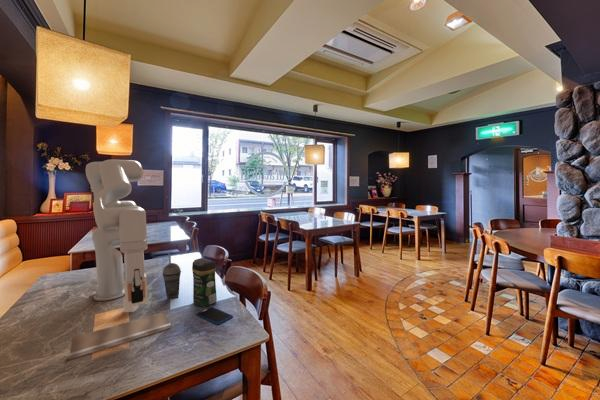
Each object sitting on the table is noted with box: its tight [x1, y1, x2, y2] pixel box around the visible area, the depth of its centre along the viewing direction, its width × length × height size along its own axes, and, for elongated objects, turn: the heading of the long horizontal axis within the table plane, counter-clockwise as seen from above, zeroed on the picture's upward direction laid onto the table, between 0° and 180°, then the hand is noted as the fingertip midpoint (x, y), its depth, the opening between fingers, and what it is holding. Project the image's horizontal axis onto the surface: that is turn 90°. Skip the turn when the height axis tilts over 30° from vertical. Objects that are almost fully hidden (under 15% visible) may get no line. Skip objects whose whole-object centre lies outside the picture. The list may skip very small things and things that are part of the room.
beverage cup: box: [162, 253, 182, 301], centre depth 113 cm, size 7×7×20 cm
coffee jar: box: [191, 257, 218, 308], centre depth 109 cm, size 10×8×19 cm
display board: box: [68, 312, 172, 360], centre depth 85 cm, size 26×13×2 cm, turn 128°
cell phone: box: [195, 306, 234, 326], centre depth 98 cm, size 7×14×1 cm, turn 55°
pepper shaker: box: [122, 298, 140, 313], centre depth 100 cm, size 4×4×10 cm
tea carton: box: [123, 272, 148, 308], centre depth 86 cm, size 4×6×9 cm
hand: (136, 299), depth 86 cm, fingers closed on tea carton, 4 cm apart
